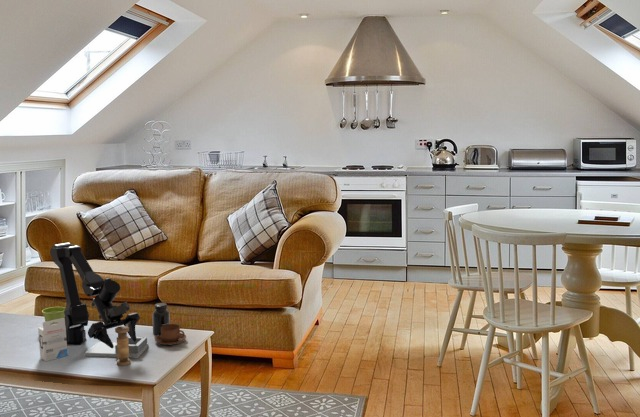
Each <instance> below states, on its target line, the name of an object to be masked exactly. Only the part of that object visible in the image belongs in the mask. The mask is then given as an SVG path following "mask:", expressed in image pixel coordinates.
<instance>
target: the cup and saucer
mask: <svg viewBox="0 0 640 417" xmlns="http://www.w3.org/2000/svg"><path fill="white" fill-rule="evenodd" d="M186 339H187V335H186V334H185V332H184V330H181V326H180V325H179V324H174V323H170V324H168V325H164V326H162V327H161V335H155V337H154V340H155V342H156V343H157V344H160V345H163V346H172V345H178V344H180V343H183V342H184V341H185V340H186Z"/></svg>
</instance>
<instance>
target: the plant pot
mask: <svg viewBox="0 0 640 417" xmlns="http://www.w3.org/2000/svg"><path fill="white" fill-rule="evenodd" d="M65 308H66V306H65V307H63V306H51V307H47V308H46V307H45V308H44V309H42V310H41V312H42V316H43V317H44V320H45V321H44V322H46V321H51V320H55V319H60V318H64V317H65V315H64V310H65ZM53 324H58V322H56V323H55V322H53V323H51V324H50V325H53Z"/></svg>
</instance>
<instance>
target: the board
mask: <svg viewBox="0 0 640 417" xmlns="http://www.w3.org/2000/svg"><path fill="white" fill-rule="evenodd" d="M128 340H129V357H128V358H139V357H140V356H141V355H142V354H143V353H144V352H145V351H146V349H148V347H149V346H150V344H149V343H148V337H147V336H136V342H134V341H133V340H132V338H131V337H130V336H128ZM112 343H113V346H114V347H113V348H110V347H109V346H107V345H106V344H105V343H103V342H101V341H97V342H96V343H95V344H94V345H93V346H91V347H90V348H89V349H88V350H86V351H85V352H84V356H85V357H105V358H106V357H110V358H118V355H117V341H116V342H115V341H114V342H112Z"/></svg>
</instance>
